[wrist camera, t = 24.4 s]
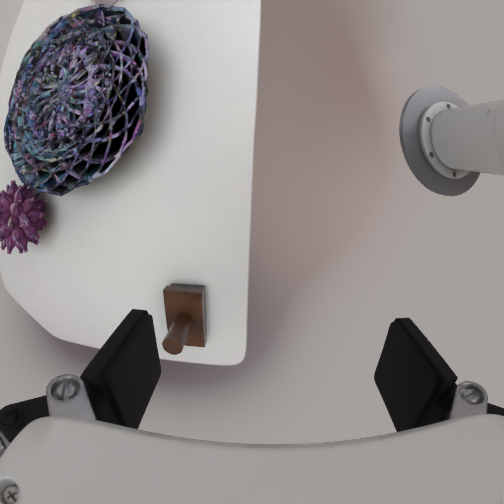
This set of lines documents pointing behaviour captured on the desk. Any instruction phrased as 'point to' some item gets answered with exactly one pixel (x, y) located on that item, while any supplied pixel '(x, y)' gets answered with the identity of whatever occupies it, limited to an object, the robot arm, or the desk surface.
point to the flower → (20, 217)
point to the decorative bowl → (78, 99)
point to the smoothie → (105, 1)
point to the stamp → (184, 317)
